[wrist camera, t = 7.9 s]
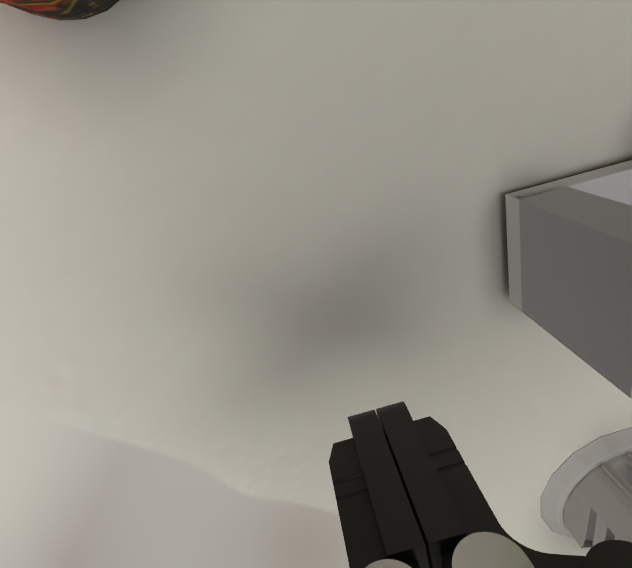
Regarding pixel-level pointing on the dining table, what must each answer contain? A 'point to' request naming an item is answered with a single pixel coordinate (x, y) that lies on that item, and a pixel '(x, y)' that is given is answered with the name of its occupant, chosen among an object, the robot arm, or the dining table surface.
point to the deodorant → (62, 7)
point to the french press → (593, 492)
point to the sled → (577, 265)
